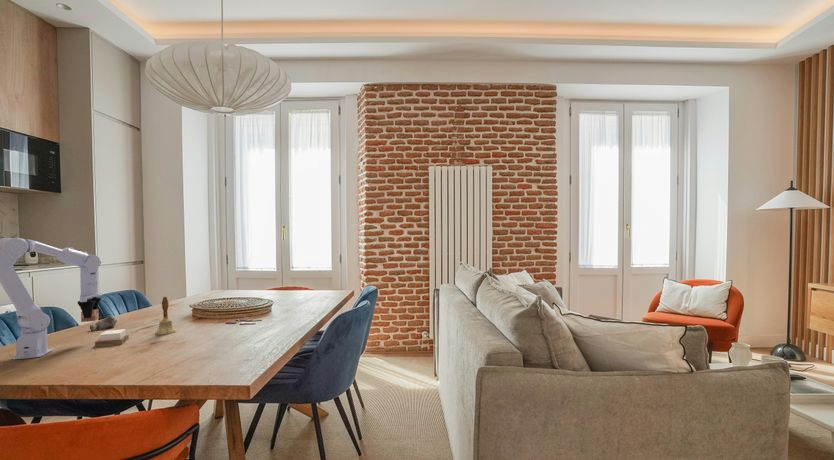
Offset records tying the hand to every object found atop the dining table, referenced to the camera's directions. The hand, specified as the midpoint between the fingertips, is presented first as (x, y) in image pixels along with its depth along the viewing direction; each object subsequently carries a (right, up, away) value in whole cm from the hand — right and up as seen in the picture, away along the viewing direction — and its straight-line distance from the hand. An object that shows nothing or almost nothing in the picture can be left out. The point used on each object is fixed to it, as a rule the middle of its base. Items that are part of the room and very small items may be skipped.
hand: (90, 316), depth 171 cm
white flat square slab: (+10, -9, -1) cm, 13 cm away
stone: (-12, -11, +24) cm, 29 cm away
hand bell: (+22, -10, +15) cm, 29 cm away
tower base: (+10, -11, -1) cm, 15 cm away
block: (0, -2, 0) cm, 2 cm away
